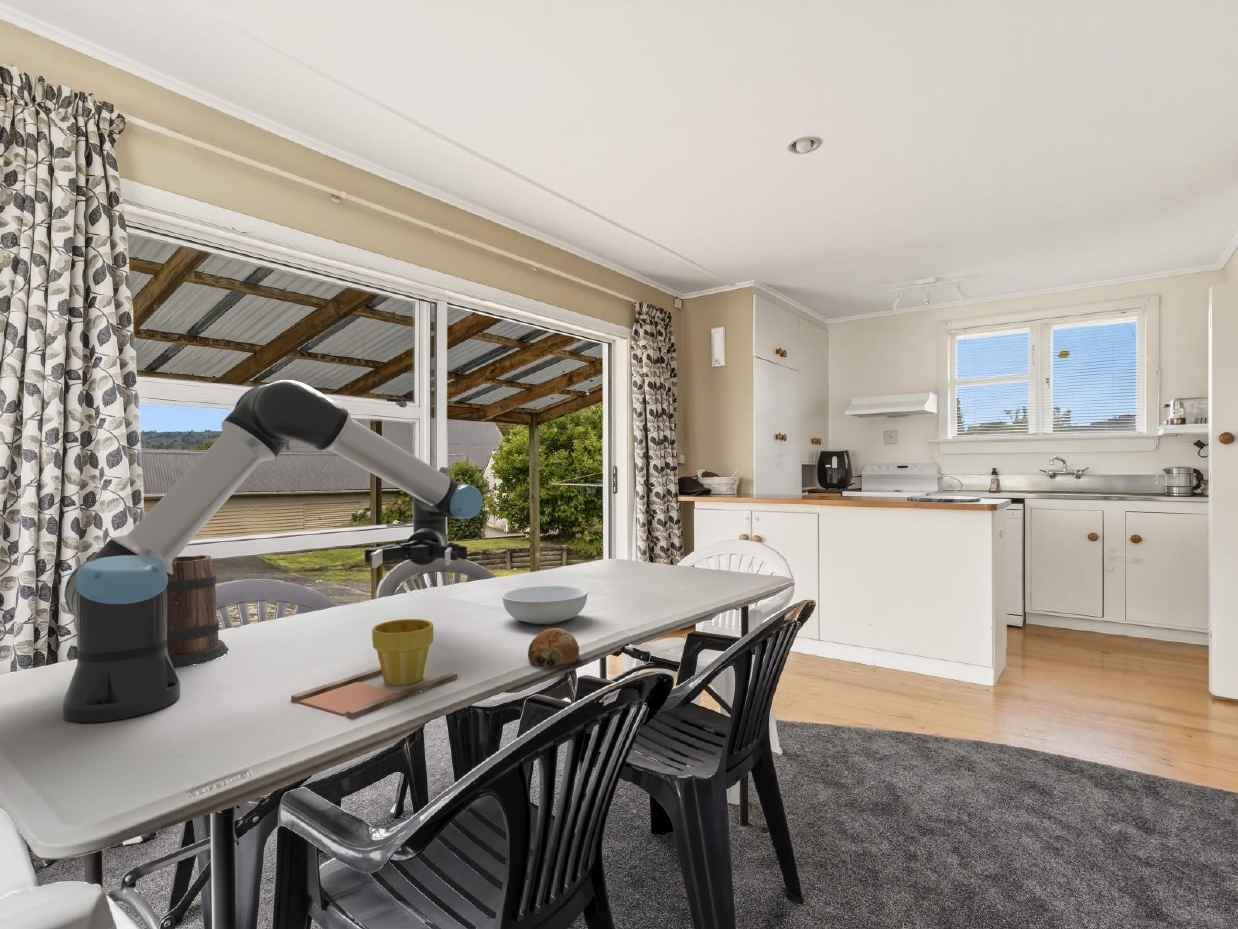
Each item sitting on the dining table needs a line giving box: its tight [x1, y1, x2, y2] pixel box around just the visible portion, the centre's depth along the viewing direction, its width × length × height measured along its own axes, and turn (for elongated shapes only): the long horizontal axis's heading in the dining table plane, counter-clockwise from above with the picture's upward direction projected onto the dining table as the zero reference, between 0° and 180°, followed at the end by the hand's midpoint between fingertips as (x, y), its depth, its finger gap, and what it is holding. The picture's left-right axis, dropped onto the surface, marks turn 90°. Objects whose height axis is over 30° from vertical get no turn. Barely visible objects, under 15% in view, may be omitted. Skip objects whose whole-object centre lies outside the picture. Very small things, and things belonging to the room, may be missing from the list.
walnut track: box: [290, 666, 459, 719], centre depth 115 cm, size 22×16×1 cm
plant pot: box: [371, 618, 434, 687], centre depth 120 cm, size 10×10×10 cm
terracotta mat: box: [299, 681, 398, 716], centre depth 110 cm, size 11×11×1 cm
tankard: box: [167, 554, 230, 669], centre depth 138 cm, size 24×17×20 cm
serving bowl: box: [501, 585, 588, 625], centre depth 165 cm, size 21×21×7 cm
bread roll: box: [527, 627, 580, 668], centre depth 132 cm, size 10×10×8 cm
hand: (410, 559), depth 129 cm, fingers open, 13 cm apart
